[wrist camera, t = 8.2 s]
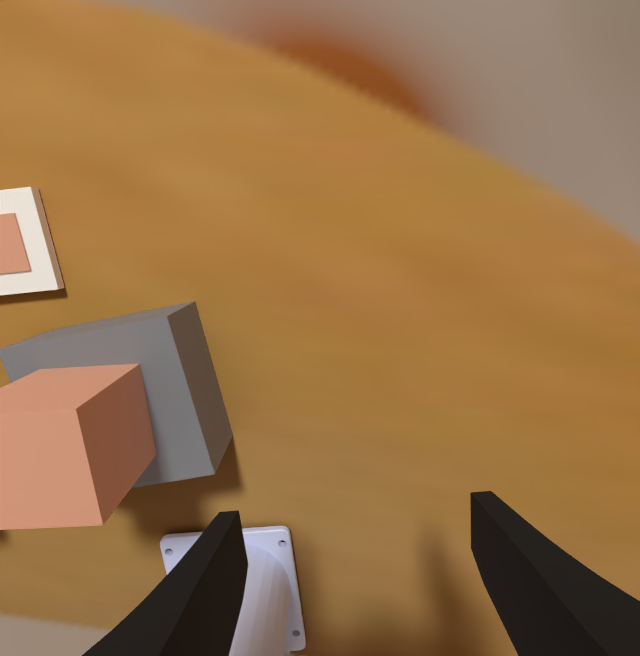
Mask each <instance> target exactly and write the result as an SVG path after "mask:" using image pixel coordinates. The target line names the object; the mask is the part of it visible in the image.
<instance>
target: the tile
mask: <svg viewBox="0 0 640 656" xmlns="http://www.w3.org/2000/svg"><path fill="white" fill-rule="evenodd" d="M62 288H65V287H64V283H63V279H62V276H61V272H60V268H59V264H58V261H57V257H56V253H55V249H54V246H53V242H52V238H51V234H50V231H49V227H48V223H47V219H46V216H45V212H44V208H43V204H42V201H41V197H40V193H39V189H38V188H36V187H24V188H15V189H7V190H0V295H9V294H19V293H28V292H38V291H47V290H57V289H62Z"/></svg>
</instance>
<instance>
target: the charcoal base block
mask: <svg viewBox="0 0 640 656" xmlns="http://www.w3.org/2000/svg"><path fill="white" fill-rule="evenodd" d="M0 358H1V360H2V363H3V365H4V367H5V370H6V372H7V374H8V377H9V379H10V382H11V383H12V382H14V381H16V380H18V379H20V378H23V377H25V376H27V375H29V374H31V373H33V372H35V371H37V370H39V369H51V368H69V367H87V366H104V365H123V364H140V368H141V373H142V378H143V384H144V389H145V395H146V400H147V405H148V411H149V416H150V421H151V427H152V432H153V437H154V443H155V448H156V456H155V457H154V458H153V460H152V461H151V462H150V464H149V465H148V466H147V468H146V469H145V470H144V472H143V473H142V474H141V476H140V477H139V478H138V480H137V481H136V482H135V484H134V485H133V486H132V488H137V487H143V486H149V485H155V484H161V483H167V482H173V481H179V480H185V479H191V478H196V477H202V476H208V475H214V474H215V473H216V471H217V469H218V466H219V464H220V462H221V460H222V458H223V456H224V454H225V451H226V449H227V447H228V445H229V443H230V441H231V438H232V436H233V434H232V430H231V427H230V423H229V420H228V416H227V413H226V409H225V406H224V402H223V398H222V395H221V391H220V388H219V384H218V381H217V377H216V374H215V370H214V367H213V363H212V360H211V356H210V352H209V349H208V345H207V342H206V338H205V335H204V331H203V328H202V324H201V321H200V317H199V314H198V310H197V306H196V303H195V301H194V302H189V303H184V304H179V305H174V306H169V307H164V308H159V309H154V310H149V311H144V312H139V313H134V314H129V315H124V316H119V317H114V318H109V319H104V320H99V321H94V322H89V323H84V324H79V325H74V326H69V327H64V328H59V329H54V330H51V331H48V332H45V333H42V334H40V335H37V336H34V337H31V338H29V339H26V340H23V341H20V342H17V343H15V344H12V345H9V346H6V347H4V348H1V349H0Z"/></svg>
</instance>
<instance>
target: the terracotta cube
mask: <svg viewBox="0 0 640 656" xmlns="http://www.w3.org/2000/svg"><path fill="white" fill-rule="evenodd" d="M155 456H156V448H155V443H154V437H153V432H152V427H151V421H150V416H149V411H148V405H147V400H146V395H145V389H144V384H143V378H142V373H141V368H140V364H123V365H104V366H87V367H69V368H51V369H39V370H37V371H35V372H33V373H31V374H29V375H27V376H25V377H23V378H20V379H18V380H16V381H14V382H12V383H10V384H8V385H6V386H4V387H2V388H0V530H8V529H30V528H52V527H74V526H96V525H104V523H105V522H106V521H107V519H108V518H109V517H110V515H111V514H112V513H113V511H114V510H115V509H116V507H117V506H118V505H119V503H120V502H121V501H122V499H123V498H124V497H125V495H126V494H127V493H128V492H129V490H130V489H131V488H132V486H133V485H134V484H135V482H136V481H137V480H138V478H139V477H140V476H141V474H142V473H143V472H144V470H145V469H146V468H147V466H148V465H149V464H150V462H151V461H152V460H153V458H154V457H155Z"/></svg>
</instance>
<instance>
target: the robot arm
mask: <svg viewBox="0 0 640 656" xmlns="http://www.w3.org/2000/svg"><path fill="white" fill-rule="evenodd" d="M281 540H284V541H286V542H281ZM160 549H161V553H162V557H163V561H164V565H165V569H166V573H167V576H166V577H165V578H164V579H163V580H162V581H161V582H160V583H159V584H158V585H157V586H156V588H155V589H154V590H153V591H152V592H151V593H150V594H149V595H148V596H147V597H146V598H145V599H144V600H143V601H142V602H141V603H140V604H139V605H138V606H137V607H136V608H135V609H134V610H133V611H132V612H131V613H130V614H129V615H128V616H127V617H126V618H125V619H124V620H122V621H121V622H120V623H119V624H118V625H117V626H116V627H115V628H114V629H113V630H112V631H110V632H109V633H108V634H107V635H106V636H104V637H103V638H102V639H101V640H100V641H99V642H97V643H96V644H95V645H94V646H93V647H91V648H90V649H89V650H88V651H87V652H86V653H84V654H83V655H82V656H290V651H299V650H302V649H304V648H305V645H306V637H305V630H304V623H303V616H302V610H301V603H300V596H299V589H298V582H297V576H296V569H295V562H294V555H293V548H292V541H291V535H290V530H289V529H288V528H287V527H285V526H270V527H257V528H244V529H242V526H241V521H240V515H239V511H228V512H219V513H218V515H217V516H216V517H215V518H214V519H213V521H212V522H211V523H210V524H209V526H208V527H207V528H206V529H205V530H204V532H191V533H178V534H167V535H165V536H163V538H162V539H161V541H160ZM169 549H171V550H173V551H171V550H169ZM471 549H472V552H473V555H474V558H475V561H476V563H477V566H478V569H479V572H480V575H481V577H482V580H483V583H484V585H485V587H486V589H487V591H488V594H489V596H490V598H491V600H492V602H493V604H494V606H495V608H496V610H497V612H498V614H499V616H500V619H501V621H502V623H503V625H504V627H505V629H506V631H507V633H508V635H509V637H510V639H511V641H512V643H513V645H514V647H515V649H516V651H517V653H518V656H640V601H638V600H637V599H635V598H633V597H632V596H630V595H628V594H627V593H625V592H624V591H622V590H621V589H619V588H618V587H616V586H614V585H613V584H611V583H610V582H608V581H607V580H605V579H603V578H602V577H600V576H599V575H597V574H596V573H594V572H593V571H591V570H590V569H589V568H587V567H586V566H584V565H583V564H582V563H580V562H579V561H577V560H576V559H575V558H573V557H572V556H571V555H569V554H568V553H566V552H565V551H564V550H562V549H561V548H560V547H558V546H557V545H556V544H554V543H553V542H552V541H551V540H549V539H548V538H547V537H545V536H544V535H543V534H542V533H540V532H539V531H538V530H537V529H535V528H534V527H533V526H532V525H531V524H529V523H528V522H527V521H526V520H525V519H523V518H522V517H521V516H520V515H519V514H517V513H516V512H515V511H514V510H513V509H511V508H510V507H509V506H508V505H507V504H506V503H504V502H503V501H502V500H501V499H500V498H499V497H497V496H496V495H495V494H494V493H493V492H491V491H485V492H472V493H471Z"/></svg>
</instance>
